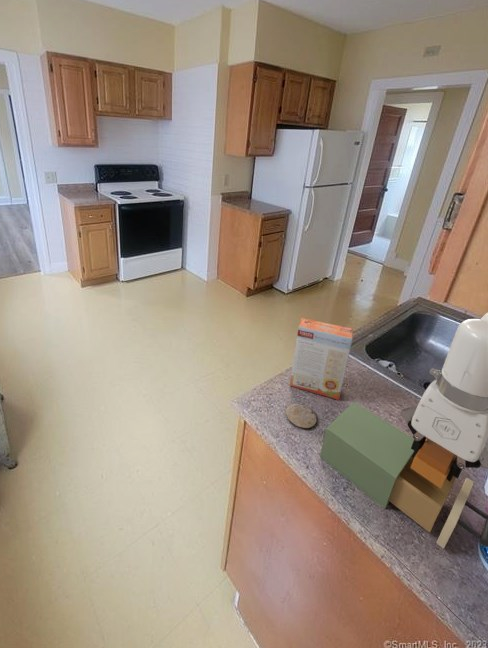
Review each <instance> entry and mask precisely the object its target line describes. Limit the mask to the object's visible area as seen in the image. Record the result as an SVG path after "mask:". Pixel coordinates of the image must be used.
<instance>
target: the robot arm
mask: <svg viewBox="0 0 488 648" xmlns="http://www.w3.org/2000/svg"><path fill="white" fill-rule="evenodd" d="M428 375H429V376H432V378H434V380H433V381H432V382H430V384H429V385H428V386H427V387H426V389H425V391H424V392H423V394H422V396H421V398H420V400H419V402H418V404H417V405H415V406H414V405H413V406H410V407H407V408H406V407H405V408H403V409H402V410H401V411H400V415H401V417H402V419H403V421H404V422H406V424H407V427H408V429H409V430H410V432H411V434H412V438H413V439H414V441H413V444H412V446H411V449H412V450H414V452H413V455H412V457H413V458H414V457H415V455H416V454H417V452H418V451H419V449H420V448H421V447H422V445H423V444H424V442H425V440H426V439H427V438H429V439H430V440H432V441H434V442H435V443H437V444H439V445H440V446H442V447H444V448H445V449H447V450H449V451H450V452H452V453H454V454H455V455H457V456H456V458H455V460H454V462H453V464H452V466H451V468H450V471H449V473H448V476H447V478H446V479H447V480H448V481H451V479H452V477H453V476H454V477H456V479H459V477H460V475H461V473H462V471H463V470H465V469H466V468H467V469H468V468H470V469H479V468H482V469H483V468H484V469H488V312H486V313H485V314H484V315H483V316H481V318H480V319H479V318H469V319H466V320H463V321H461V323H459V325H458V326H457V329H456V331H455V334H454V336H453V339H452V342H451V344H450V346H449V350H448V352H447V355H446V357H445V360H444V362H443V365H442V368H440V369H435V368H433V367H432V368H431V369H430V370H429V372H428Z"/></svg>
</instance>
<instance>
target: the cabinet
mask: <svg viewBox="0 0 488 648" xmlns="http://www.w3.org/2000/svg"><path fill="white" fill-rule="evenodd" d="M413 441H414V439H413V436H411V435H410V434H407V433H406V432H404V431H402V430H401V429H399V428H398V427H397V426H395V425H393V424H391V423H390V422H388V421H386V420H385V419H383V418H382V417H380V416H378V415H377V414H375V413H374V412H372V411H370V410H369V409H367V408H365V407H363V405H361V404H359V403H357V402H355V401H353V402H352V403H351V404H350V405H348V406H347V408H346V409H345V410H344V411H343V412H341V413H340V414H339V415H338V416H337V417H336V418H335V419H334V420H333V421H332V422H331V423H330V424H329V425H328V426H327V427H326V429H325V432H324V438H323V441H322V446H321V450H320V454H319V458H320V459H322V460H323V461H324V462H326V463H327V464H328V466H330V467H332V469H334V470H335V471H337V472H338V473H339V474H340V475H341V476H343V477H344V478H345V479H346V480H347V481H349V482H350V483H352V485H353V486H355V487H357V489H359V490H360V491H361V492H362V493H364V494H365V495H366V496H368V497H369V498H370V499H371V500H373V501H374V502H375V503H376V504H378V505H379V506H380V507H381V508H383V509H384V510H386V509H387V507H388V505H389V504H390V503H391V502H390V501H389V499H390V496H391V493H392V490H393V488H394V485H395V482H396V479H397V478H398V476H399V475H400V473H401V472H402V470H403V469H404V467H405V466H406V464H407V463H408V461H409V460H410V458H411V457H412V455H413V452H414V450H412V449H411V446H412V444H413Z"/></svg>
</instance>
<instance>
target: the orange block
mask: <svg viewBox="0 0 488 648" xmlns="http://www.w3.org/2000/svg"><path fill="white" fill-rule="evenodd" d="M456 456H457V455H455V454H454V453H452V452H450V451H449V450H447V449H445V448H444V447H442V446H440V445H439V444H437V443H435V442H434V441H432V440H430V439H429V438H426V440H425V442H424V444H423V445H422V447H421V448H420V449H419V451H418V452H417V454H416V455H415V457H414V460H413V462H412V465H411V467H410V468H411V469H413V470H414V471H416V472H417V473H418V474H420V475H421V476H423V477H424V478H426V479H427V480H429V481H430V482H432V483H433V484H435V485H436V486H438V487H439V488H440V489H441V488H442V486H443V484H444V482H445V480H446V478H447V476H448V473H449V471H450V468H451V466H452V464H453V462H454V460H455V458H456Z"/></svg>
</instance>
